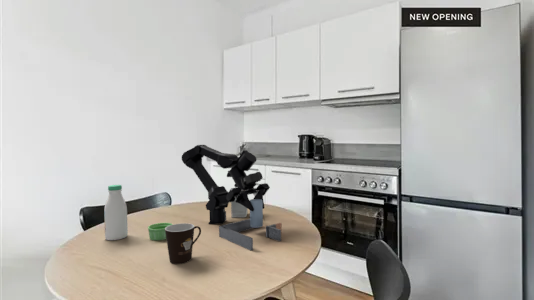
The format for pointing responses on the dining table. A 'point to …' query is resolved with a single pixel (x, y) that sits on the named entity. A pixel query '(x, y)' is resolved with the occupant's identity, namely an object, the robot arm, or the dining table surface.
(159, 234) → the ramekin
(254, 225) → the slate peg
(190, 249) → the coffee mug
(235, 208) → the supplement box
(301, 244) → the dining table surface
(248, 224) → the bent channel
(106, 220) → the milk bottle
